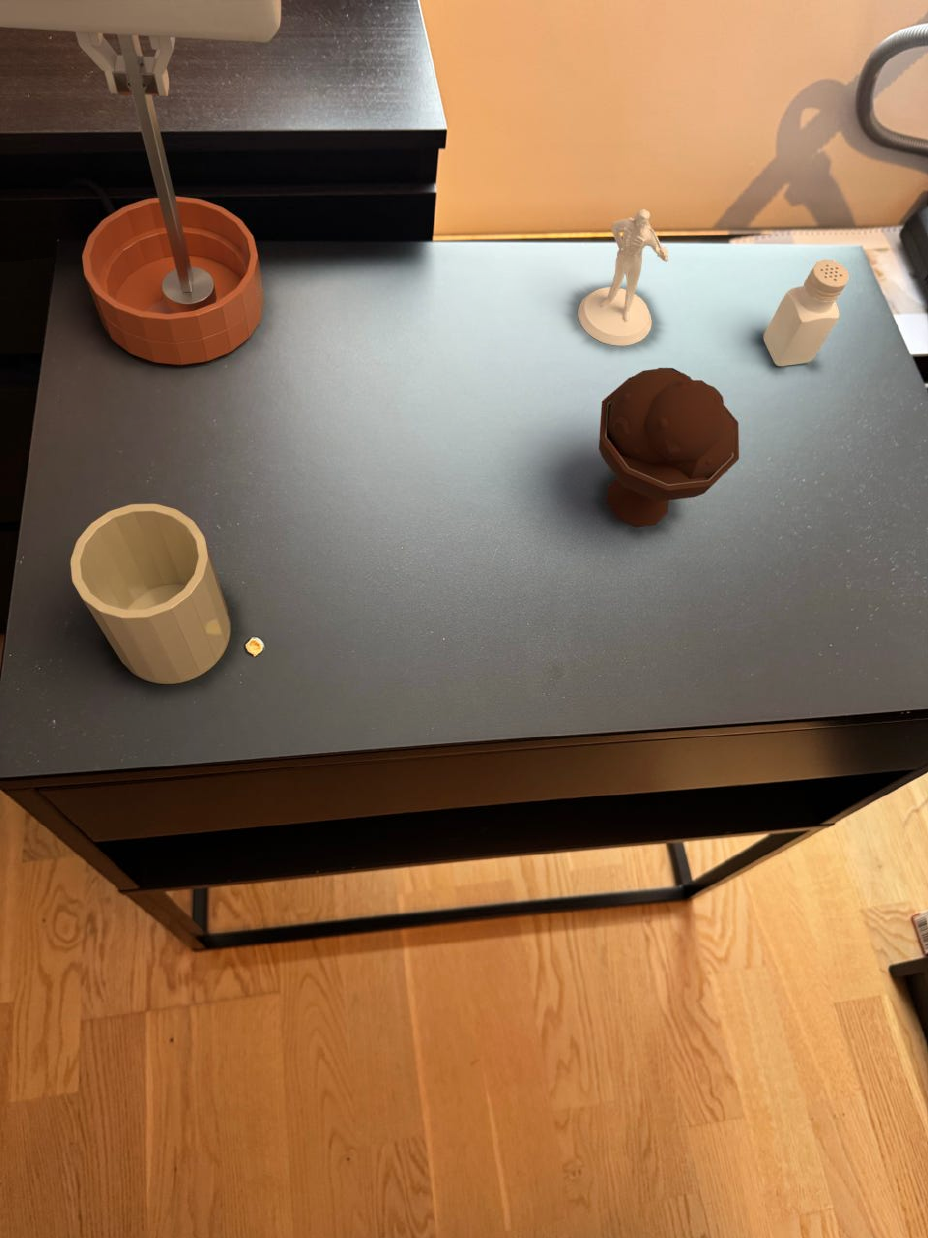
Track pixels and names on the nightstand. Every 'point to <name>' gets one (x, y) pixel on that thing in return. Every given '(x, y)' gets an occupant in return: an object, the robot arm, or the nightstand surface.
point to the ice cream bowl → (664, 442)
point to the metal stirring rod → (166, 196)
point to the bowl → (140, 259)
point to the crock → (153, 591)
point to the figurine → (617, 309)
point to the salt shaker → (806, 315)
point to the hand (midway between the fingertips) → (140, 89)
